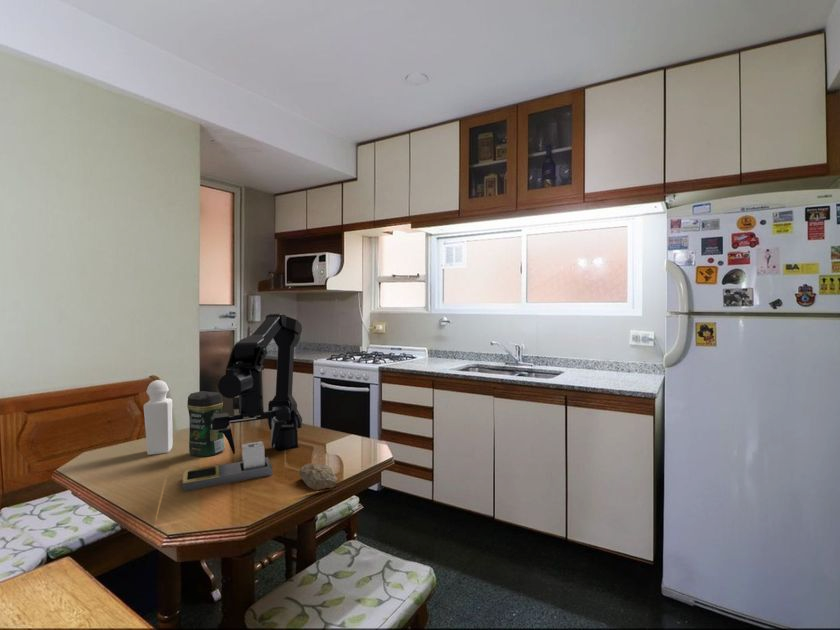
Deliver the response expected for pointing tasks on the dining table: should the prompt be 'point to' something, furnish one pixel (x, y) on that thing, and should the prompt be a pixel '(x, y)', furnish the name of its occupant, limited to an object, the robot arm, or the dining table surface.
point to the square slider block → (253, 455)
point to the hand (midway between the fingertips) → (253, 450)
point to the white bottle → (158, 418)
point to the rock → (318, 476)
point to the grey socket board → (222, 475)
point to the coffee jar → (204, 423)
